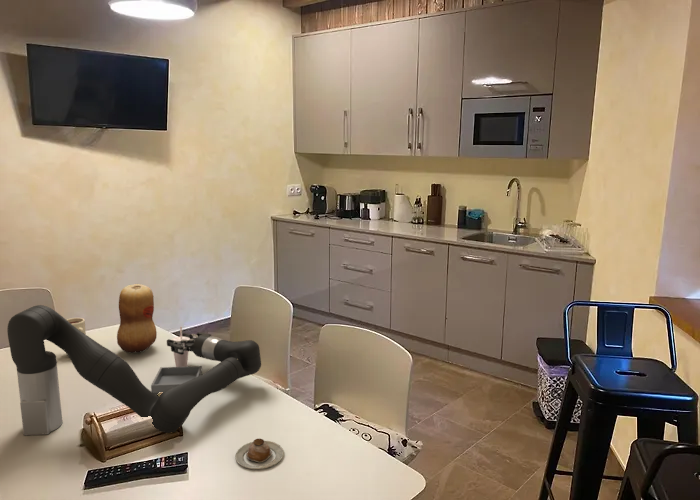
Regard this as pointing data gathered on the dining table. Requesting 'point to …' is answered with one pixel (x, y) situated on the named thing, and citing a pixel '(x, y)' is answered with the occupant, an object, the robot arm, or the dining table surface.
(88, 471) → the dining table surface
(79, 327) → the character mug
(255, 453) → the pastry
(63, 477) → the dining table surface
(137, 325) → the butternut squash
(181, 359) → the smoothie
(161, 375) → the bin
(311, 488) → the dining table surface
